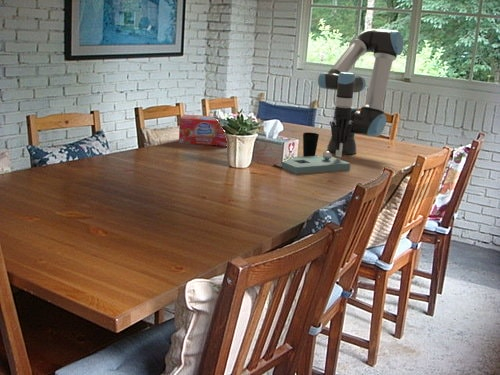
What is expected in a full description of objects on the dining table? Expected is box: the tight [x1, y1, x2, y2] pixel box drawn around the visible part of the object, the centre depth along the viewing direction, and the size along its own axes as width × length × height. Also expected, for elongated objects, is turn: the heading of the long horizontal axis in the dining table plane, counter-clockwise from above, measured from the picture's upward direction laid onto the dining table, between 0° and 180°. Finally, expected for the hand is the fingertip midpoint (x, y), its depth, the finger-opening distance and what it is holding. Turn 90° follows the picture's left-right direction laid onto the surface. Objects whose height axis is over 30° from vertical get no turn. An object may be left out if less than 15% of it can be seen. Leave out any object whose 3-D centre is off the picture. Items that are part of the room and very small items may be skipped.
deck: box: [281, 154, 351, 175], centre depth 295 cm, size 30×18×3 cm, turn 120°
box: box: [178, 114, 227, 147], centre depth 334 cm, size 27×13×14 cm, turn 82°
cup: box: [302, 132, 320, 157], centre depth 313 cm, size 8×8×12 cm
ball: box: [322, 150, 332, 160], centre depth 298 cm, size 4×4×4 cm
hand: (338, 156), depth 302 cm, fingers closed
